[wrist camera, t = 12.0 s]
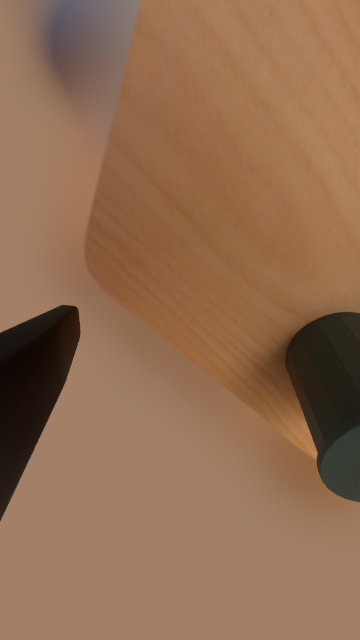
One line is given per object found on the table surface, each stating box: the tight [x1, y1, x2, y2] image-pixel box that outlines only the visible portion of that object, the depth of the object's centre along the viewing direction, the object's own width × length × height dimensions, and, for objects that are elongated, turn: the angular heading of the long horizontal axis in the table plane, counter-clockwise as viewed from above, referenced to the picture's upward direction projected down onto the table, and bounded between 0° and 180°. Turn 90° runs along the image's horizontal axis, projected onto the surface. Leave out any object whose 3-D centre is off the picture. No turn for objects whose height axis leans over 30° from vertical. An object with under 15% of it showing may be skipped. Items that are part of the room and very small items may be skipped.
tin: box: [285, 312, 360, 452], centre depth 22 cm, size 8×8×9 cm
